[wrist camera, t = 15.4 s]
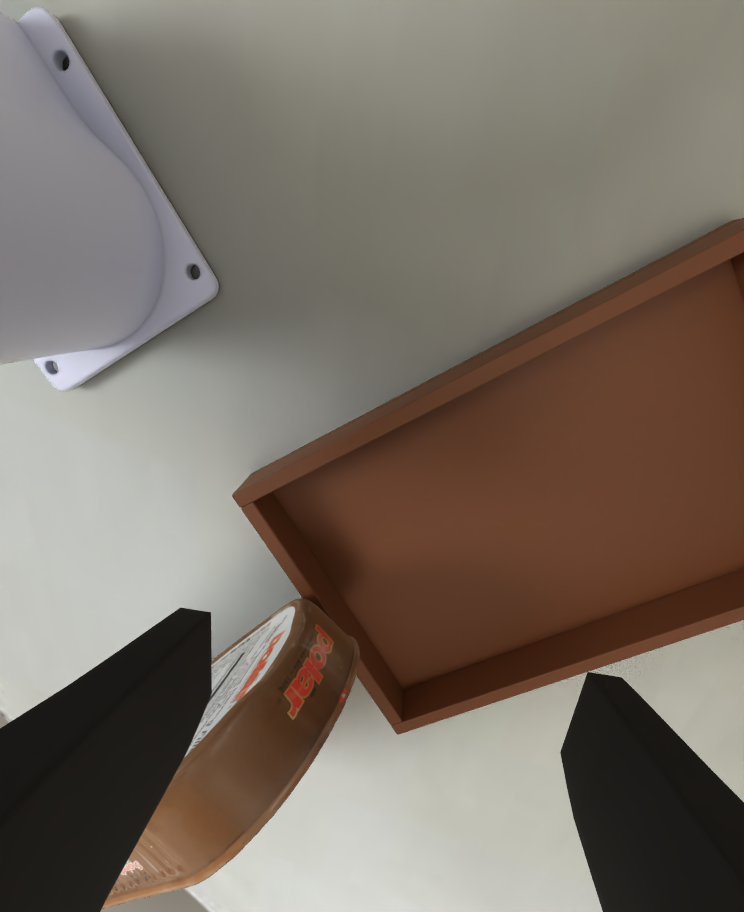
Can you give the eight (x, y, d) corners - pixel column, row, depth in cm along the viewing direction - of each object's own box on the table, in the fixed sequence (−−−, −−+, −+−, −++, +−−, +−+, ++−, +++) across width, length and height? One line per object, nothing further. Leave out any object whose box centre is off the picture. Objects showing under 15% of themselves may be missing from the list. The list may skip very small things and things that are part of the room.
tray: (250, 473, 19) (230, 495, 17) (733, 219, 15) (786, 207, 12) (398, 694, 22) (397, 735, 20) (826, 542, 18) (880, 574, 16)
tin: (204, 725, 24) (71, 934, 17) (159, 687, 24) (4, 885, 17) (390, 604, 17) (299, 879, 10) (330, 548, 17) (187, 790, 9)
